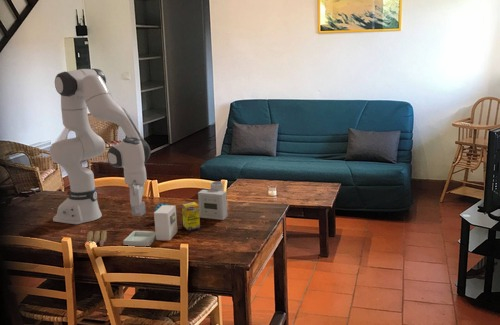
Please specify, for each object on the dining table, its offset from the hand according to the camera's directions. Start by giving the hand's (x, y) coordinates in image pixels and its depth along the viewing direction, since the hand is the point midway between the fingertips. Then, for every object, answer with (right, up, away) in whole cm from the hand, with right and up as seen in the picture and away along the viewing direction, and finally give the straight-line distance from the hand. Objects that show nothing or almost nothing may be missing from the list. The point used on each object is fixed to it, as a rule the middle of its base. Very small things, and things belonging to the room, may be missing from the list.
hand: (138, 209), depth 216 cm
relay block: (0, -2, 0) cm, 2 cm away
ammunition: (-18, -15, +3) cm, 23 cm away
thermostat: (+31, -5, +33) cm, 45 cm away
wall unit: (+10, -12, +8) cm, 18 cm away
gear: (+7, -7, +27) cm, 29 cm away
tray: (0, -13, +3) cm, 14 cm away
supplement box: (+20, -10, +16) cm, 27 cm away
